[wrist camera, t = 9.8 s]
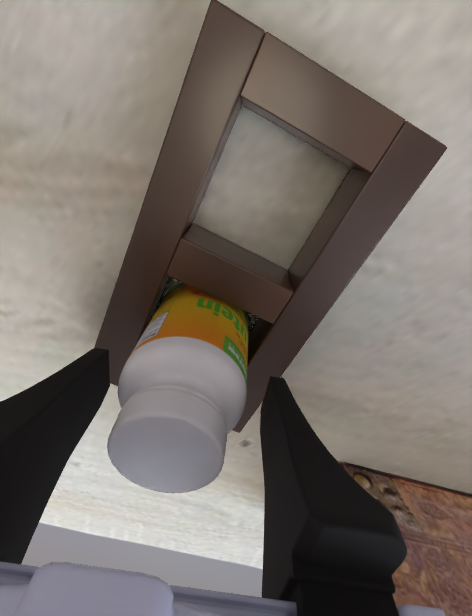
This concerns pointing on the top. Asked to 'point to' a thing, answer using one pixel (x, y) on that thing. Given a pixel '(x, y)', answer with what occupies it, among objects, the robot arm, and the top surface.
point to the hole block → (230, 257)
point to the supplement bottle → (181, 393)
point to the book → (427, 540)
